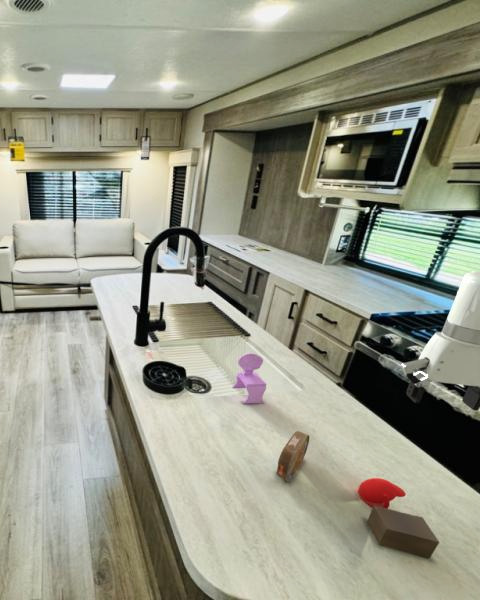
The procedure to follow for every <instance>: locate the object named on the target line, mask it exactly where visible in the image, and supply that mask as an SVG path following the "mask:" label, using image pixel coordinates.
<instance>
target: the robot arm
mask: <svg viewBox="0 0 480 600" xmlns="http://www.w3.org/2000/svg"><path fill="white" fill-rule="evenodd" d="M444 322H445V323H444V325H443V327H442V329H441V331H437V332H434V334H433V335H432V336H431V338H430V339H429V340H428V342H427V343H426V345H425V346H424V348H423V350H422V351H421V353H420V354H419V357H418V359H416V360H411V361H407V362H403V363H401V364H400V367H401V370H402V374H403V375H404V376H405V377H406V379H408V381H409V384H408V386H407V389H406V393H405V394H406V395H407V397H408V398H409V399H410V400H411V401H412V402H413V403H415V404H420V402H421V400H422V398H423V395H424V393H425V390H426V388H425V387H424V386H426V385H428V384H430V383H433V382H436V383H441V384H442V383H443V384H451V385H460V386H468V387H467V389H466V391H465V394H464V395H463V397H462V399H461V400H462V401H461V402H462V403H464V404H465V405H466V406H467V407H468V408H470V409H471V410H473V411H479V409H480V270H473V271H470V272H468V273H466V274H465V275H464V276H463V278H462V280H461V283H460V285H459V287H458V289H457V292H456V295H455V297H454V301H453V302H452V305H451V308H450V310H449V313H448V315H447V318H446V319H445V321H444ZM414 370H417V371H416V372H415V373H414Z"/></svg>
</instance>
